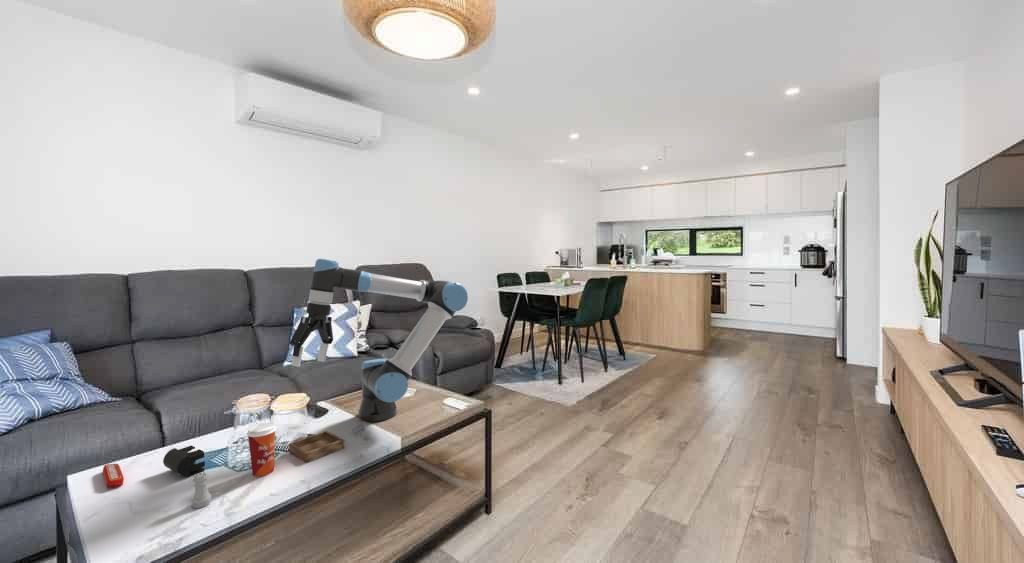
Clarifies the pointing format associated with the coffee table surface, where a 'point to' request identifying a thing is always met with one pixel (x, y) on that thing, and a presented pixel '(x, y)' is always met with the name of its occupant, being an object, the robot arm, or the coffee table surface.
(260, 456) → the paper cup
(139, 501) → the coffee table surface
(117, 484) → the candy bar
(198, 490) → the rook chess piece
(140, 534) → the coffee table surface
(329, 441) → the tray
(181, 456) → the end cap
